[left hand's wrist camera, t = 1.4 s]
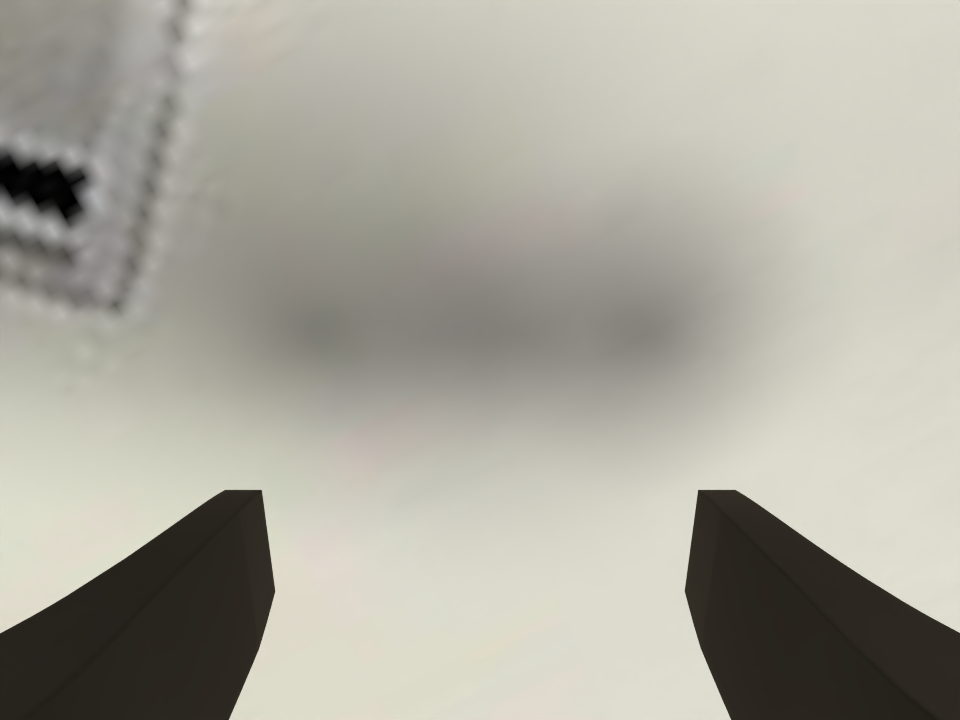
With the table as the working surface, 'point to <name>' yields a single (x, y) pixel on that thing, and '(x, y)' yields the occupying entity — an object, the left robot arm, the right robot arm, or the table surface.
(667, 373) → the table surface
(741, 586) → the left robot arm
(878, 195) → the table surface
